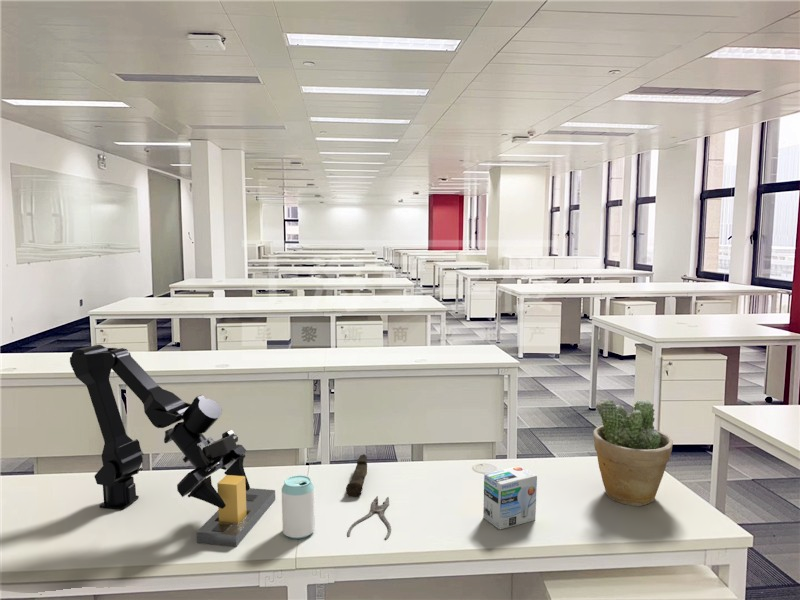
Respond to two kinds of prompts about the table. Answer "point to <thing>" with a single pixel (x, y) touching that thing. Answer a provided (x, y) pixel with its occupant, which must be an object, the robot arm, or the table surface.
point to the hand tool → (357, 478)
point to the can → (298, 507)
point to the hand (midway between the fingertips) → (236, 498)
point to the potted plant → (630, 452)
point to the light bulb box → (509, 497)
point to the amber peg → (232, 498)
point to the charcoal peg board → (236, 532)
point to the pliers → (373, 510)
